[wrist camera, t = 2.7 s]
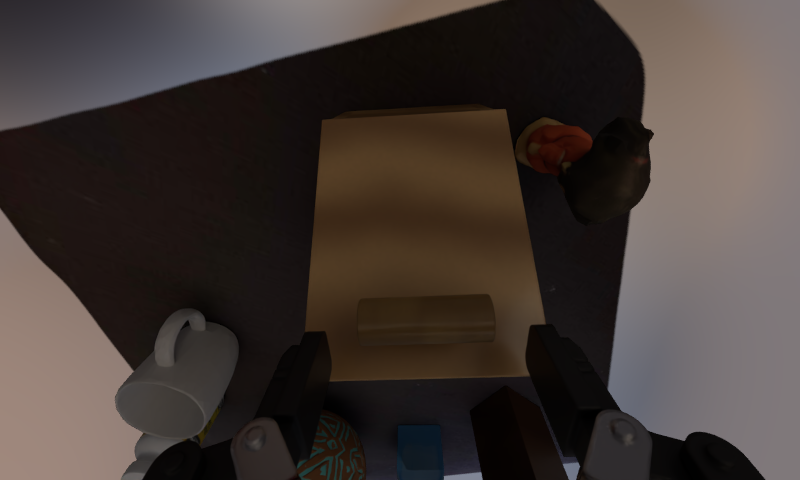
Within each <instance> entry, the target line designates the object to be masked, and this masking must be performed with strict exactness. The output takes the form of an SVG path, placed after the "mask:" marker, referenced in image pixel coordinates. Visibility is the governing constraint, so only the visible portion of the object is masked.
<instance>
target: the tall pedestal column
mask: <svg viewBox="0 0 800 480" xmlns="http://www.w3.org/2000/svg"><path fill="white" fill-rule="evenodd" d="M470 415H471V420H472V425H473V431H474V436H475V441H476V446H477V452H478V457H479V462H480V468H481V473H482V478H483V480H569V479H568V476H567V474H566V471H565V469H564V467H563V464H562V462H561V459H560V457H559V454H558V452H557V449H556V447H555V444H554V442H553V439H552V437H551V434H550V432H549V429H548V427H547V424H546V422H545V420H544V417H543V415H542V412H541V410H540V407H538V406H537V405H535V404H534V403H532V402H530V401H529V400H527V399H526V398H524V397H523V396H521V395H520V394H518V393H516V392H515V391H513V390H512V389H510V388H509V387H507V386H504V387H503V388H502V389H500V390H499V391H497V392H496V393H495V394H493V395H492V396H490V397H489V398H488V399H486V400H485V401H483V402H482V403H481V404H479V405H478V406H476V407H475V408H474V409H472V410H471V411H470Z"/></svg>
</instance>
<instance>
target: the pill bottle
mask: <svg viewBox="0 0 800 480" xmlns="http://www.w3.org/2000/svg"><path fill="white" fill-rule="evenodd" d="M223 403H224V397H222V399H221V401H220V403H219V405H218V406H217V408H216V410H215V411H214V413H213V415H212V416H211V418H210V420H209V421H208V423H207V424H206V426H205V427H204V429H203V430H202V431H201V432H200V433H199V434H197V435H195V436H193V437H191V438H187V439H164V438H160V437H156V436H152V435H149V434H146V433H143V435H142V436H141V437H140V439H139V440H138V442H137V444H136V446H135V456H136V459H137V460H136V461H134V462H133V463H132V464H131V465H130V466H129V467H128V468H127V470H126V472H125V473H124V474H123V476H122V478H121V480H142V479H143V477H144V475H145V474H146V472H147V470H148V469H149V467H150V466H151V464H152V463H153V461H154V460H155V459H156V458H157V457H158V456H159V455H160V454H161V453H162V452H163V451H165V450H166V449H167V448H169V447H171V446H172V445H174V444H176V443H179V442H182V441H195V442H197V443H198V444H199V445H201V443H202V441H203V439H204V438H205V436H206V434H207V432H208V431H209V429H210V427H211V425H212V424H213V422H214V420H215V418H216V417H217V415H218V413H219V411H220V410H221V408H222V406H223Z"/></svg>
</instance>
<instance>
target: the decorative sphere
mask: <svg viewBox="0 0 800 480" xmlns="http://www.w3.org/2000/svg"><path fill="white" fill-rule="evenodd" d="M297 472H298V474H299V477H300V478H301V480H366V462H365V454H364V450H363V446H362V445H361V441H360V439H359V438H358V435H357V433H356V432H355V430H354V429H353V428H352V426H351V425H350V424H349V423H348V422H347V421H346V420H345V419H343V418H342V417H340V416H339V415H337V414H335V413H333V412H331V411H328V410H323V409H322V412H321V416H320V420H319V424H318V428H317V432H316V436H315V440H314V444H313V448H312V452H311V456H310V460H299V463H298V466H297Z"/></svg>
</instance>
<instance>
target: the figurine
mask: <svg viewBox="0 0 800 480" xmlns="http://www.w3.org/2000/svg"><path fill="white" fill-rule="evenodd" d="M611 123H612V124H611ZM611 123H609V124H607V125H606V126H605V127H604V128H603V129H602V130H601V131H600V132H599V134H598V135H597V137H596V138H595V140H594V141H593V142H592V139H591V137H590V135H589V134H587V133H586V132H584V131H583V130H582V129H581V128H580V127H577V126H567V125H564V124H563V123H560V122H558V121H556V120H552V119H549V118H546V117H542V118H540V119H539V120H536V121H535V122H534V123H532V124H530V125H528V126H527V127H526V128H525V129H524V131H523V132H522V133H521V135H520V136H519V138H518V140H517V144H516V149H515V157H516V159H517V160H518V161H519V162H520V163H522V164H524V165H527V166H530V167H532V168H533V169H534V170H535V171H537V172H541V173H551V174H553V175H555V176H558V177H557V179H558V182H559V184H560V186H561V188H562V190H563V192H564V194H565V198H566V200H567V202H568V204H569V206H570V209H571V211H572V213H573V215H574V217H575V218H576V220H577V221H578V222H580V223H582V224H584V225H586V226H588V225H590V224H599V223H603V222H605V221H607V220H609V219H611V218H614V217H617V216H620V215H622V214H624V213H626V212H627V211H629V210H631V209H632V208H633V207H634V206H636V205H637V204H638V203H639V202H640V200H641V199H642V198H643V196H644V194H645V192H646V190H647V188H648V186H649V183H650V170H651V161H650V154H649V142H650V140H651V139H652V137H653V135H654V133H653V132H652V131H651V130H649V129H646V128H644V126H643V124H642V123H641V122H640V121H637V120H634V119H632V118H620V117H617V118H616V119H615V120H614V121H612V122H611Z"/></svg>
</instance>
